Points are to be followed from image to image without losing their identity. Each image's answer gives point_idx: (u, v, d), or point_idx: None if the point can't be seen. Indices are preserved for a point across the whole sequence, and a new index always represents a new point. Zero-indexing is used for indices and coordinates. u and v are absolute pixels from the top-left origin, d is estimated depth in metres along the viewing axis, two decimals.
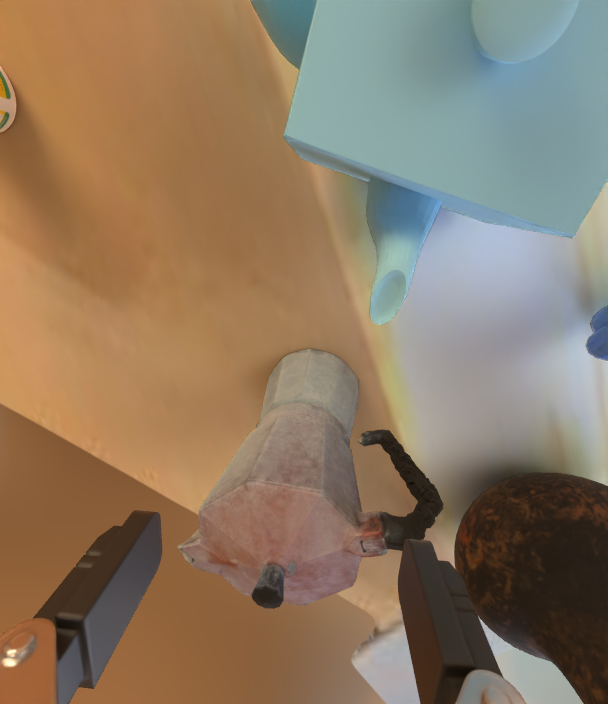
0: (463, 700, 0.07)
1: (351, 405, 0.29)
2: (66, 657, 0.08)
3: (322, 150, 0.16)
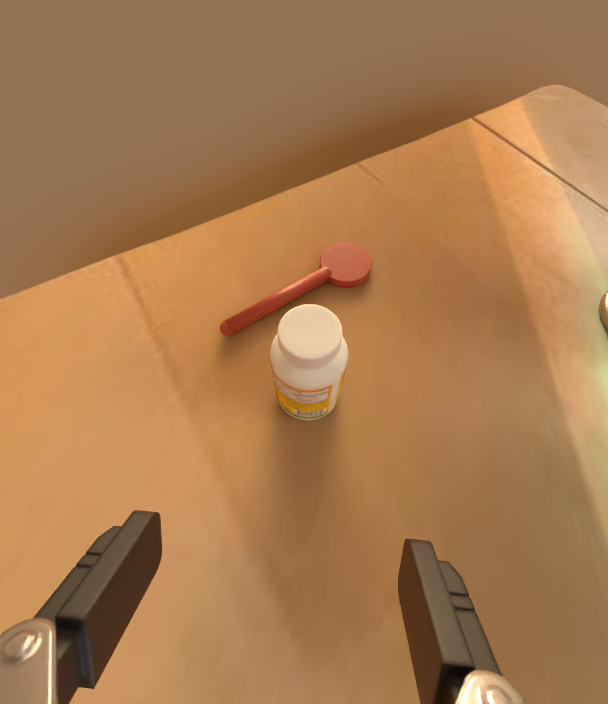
0: (463, 700, 0.07)
1: None
2: (66, 657, 0.08)
3: None
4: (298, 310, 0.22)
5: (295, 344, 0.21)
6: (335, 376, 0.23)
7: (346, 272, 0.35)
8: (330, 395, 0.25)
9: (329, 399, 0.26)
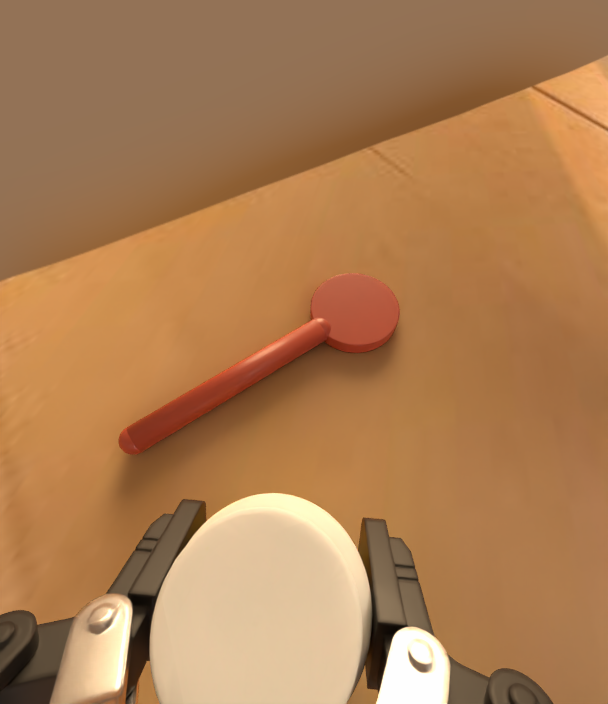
0: (390, 651, 0.08)
1: None
2: (140, 630, 0.08)
3: None
4: (225, 532, 0.07)
5: (202, 694, 0.06)
6: None
7: (356, 328, 0.20)
8: None
9: None
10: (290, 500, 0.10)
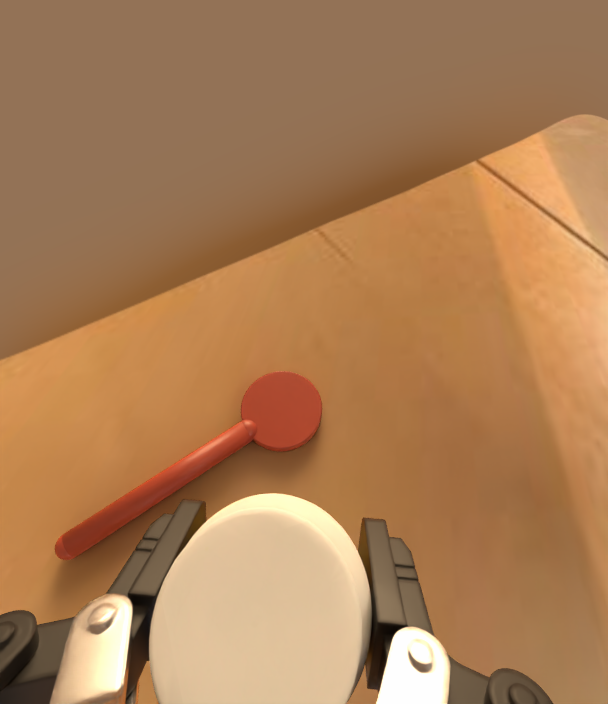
0: (390, 651, 0.08)
1: None
2: (140, 630, 0.08)
3: None
4: (225, 533, 0.07)
5: (201, 695, 0.06)
6: None
7: (280, 429, 0.22)
8: None
9: None
10: (290, 500, 0.10)
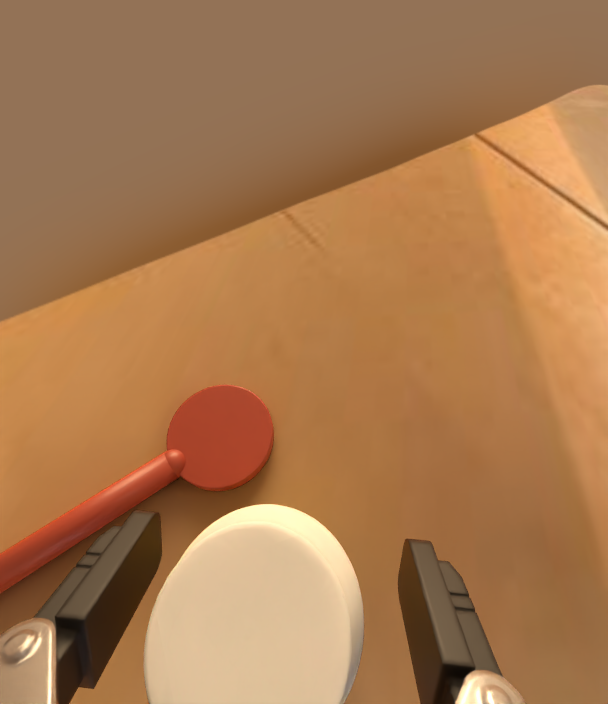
0: (463, 700, 0.07)
1: None
2: (66, 657, 0.08)
3: None
4: (219, 547, 0.08)
5: None
6: None
7: (215, 463, 0.17)
8: None
9: None
10: (284, 512, 0.10)
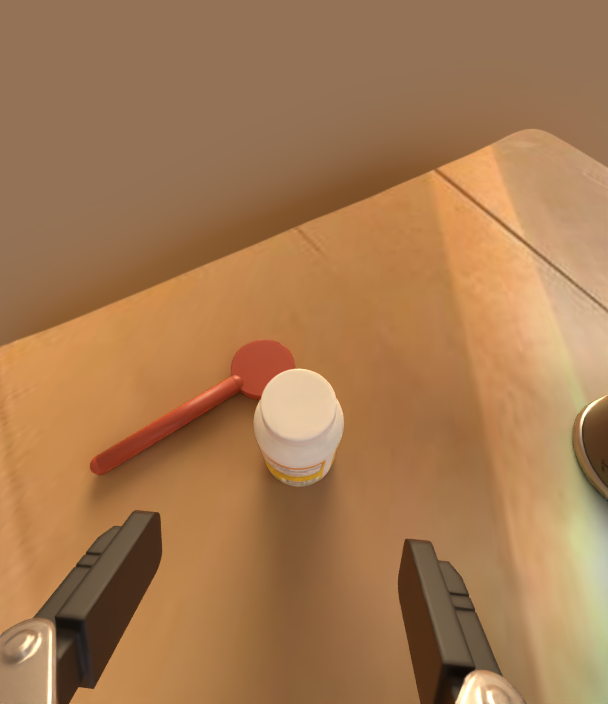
0: (463, 700, 0.07)
1: None
2: (66, 657, 0.08)
3: None
4: (285, 376, 0.19)
5: (281, 421, 0.18)
6: (329, 452, 0.20)
7: (261, 382, 0.28)
8: (323, 467, 0.22)
9: (322, 470, 0.23)
10: None
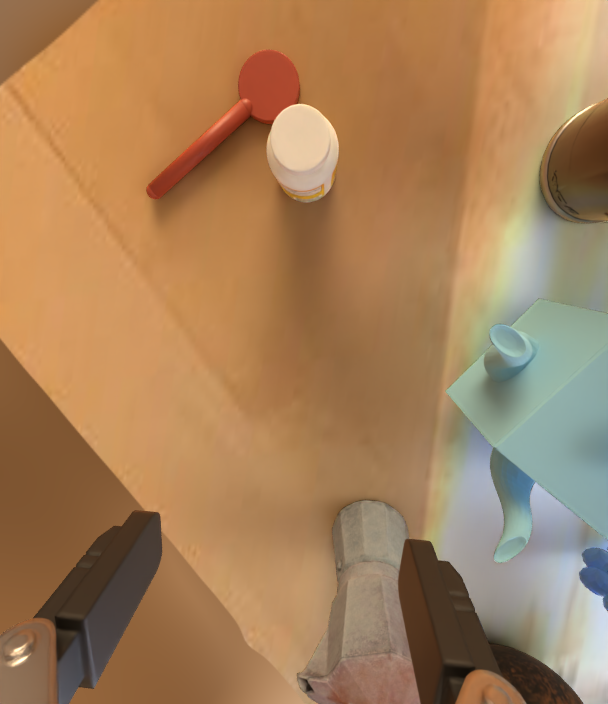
0: (463, 700, 0.07)
1: None
2: (66, 657, 0.08)
3: (511, 461, 0.25)
4: (287, 113, 0.23)
5: (287, 156, 0.24)
6: (325, 177, 0.26)
7: (269, 105, 0.31)
8: (323, 188, 0.29)
9: (323, 189, 0.30)
10: None
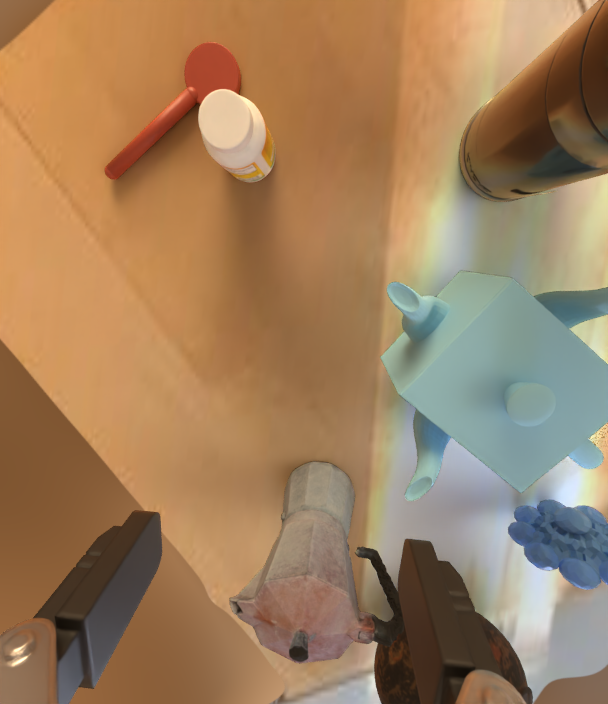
0: (463, 700, 0.07)
1: (350, 518, 0.41)
2: (66, 657, 0.08)
3: None
4: (212, 97, 0.26)
5: (213, 135, 0.27)
6: (254, 156, 0.29)
7: None
8: (258, 167, 0.32)
9: (259, 169, 0.33)
10: None
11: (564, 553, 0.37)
